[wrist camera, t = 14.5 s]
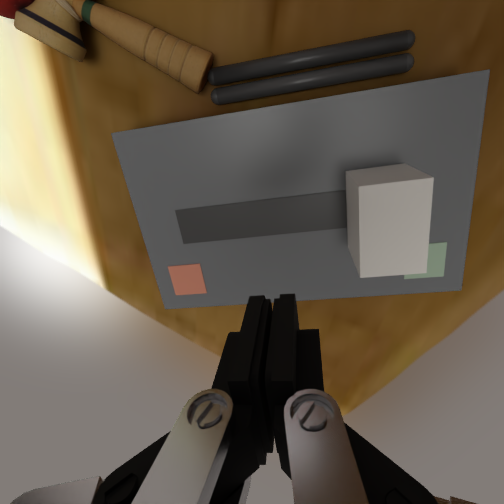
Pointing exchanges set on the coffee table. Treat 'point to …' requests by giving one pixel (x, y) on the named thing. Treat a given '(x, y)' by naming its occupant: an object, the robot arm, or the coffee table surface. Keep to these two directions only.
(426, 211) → the breaker knob
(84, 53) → the kendama
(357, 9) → the coffee table surface
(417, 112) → the switch panel
